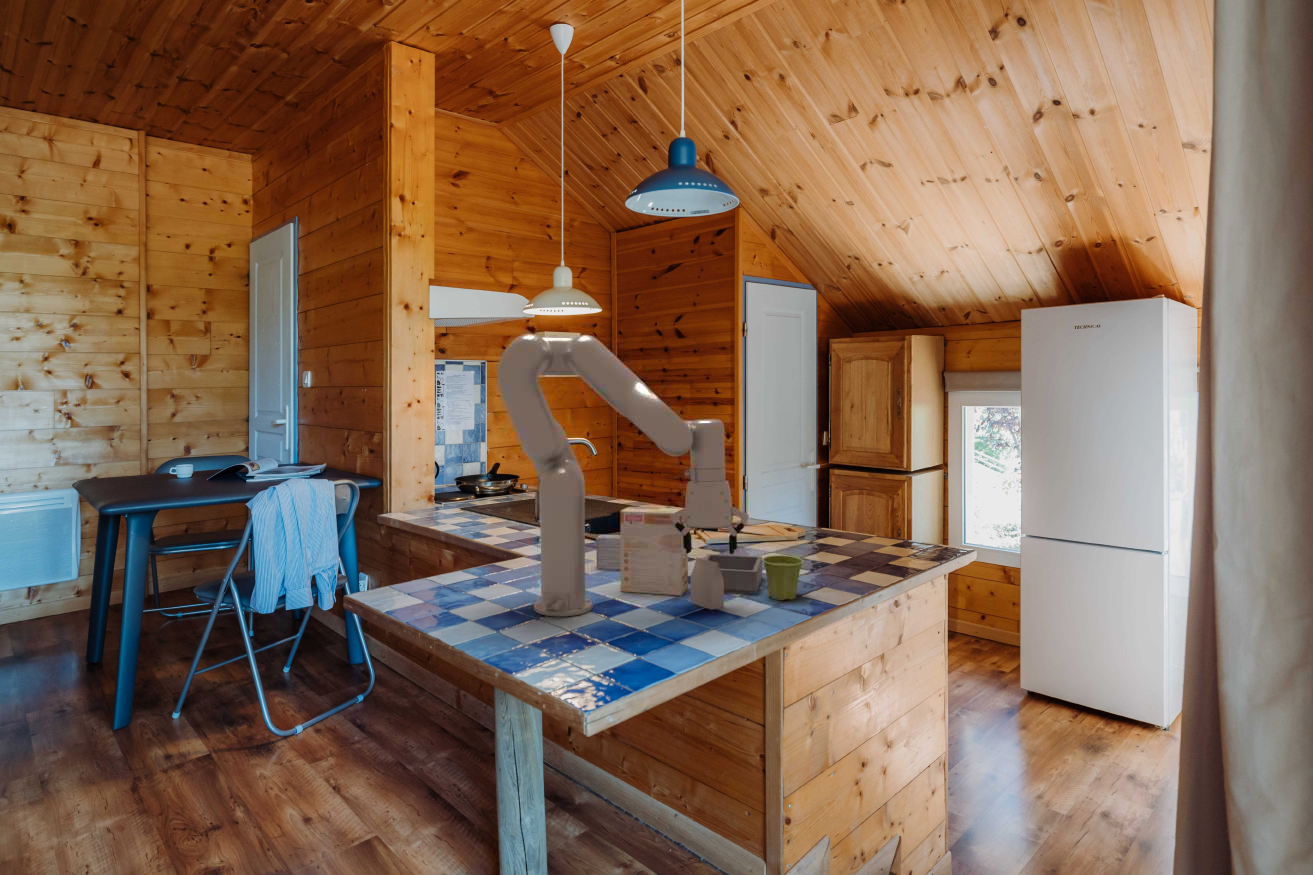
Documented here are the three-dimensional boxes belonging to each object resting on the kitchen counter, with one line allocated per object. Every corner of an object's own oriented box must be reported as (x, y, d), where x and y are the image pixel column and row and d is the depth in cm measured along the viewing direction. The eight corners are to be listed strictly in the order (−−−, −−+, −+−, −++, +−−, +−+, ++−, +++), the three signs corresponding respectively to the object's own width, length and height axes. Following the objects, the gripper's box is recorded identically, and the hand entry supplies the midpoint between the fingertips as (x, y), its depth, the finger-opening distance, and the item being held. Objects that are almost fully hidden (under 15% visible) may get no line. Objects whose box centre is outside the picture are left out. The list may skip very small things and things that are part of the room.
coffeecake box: (688, 588, 179) (688, 508, 178) (681, 596, 172) (681, 512, 171) (629, 584, 183) (628, 505, 182) (619, 592, 176) (619, 510, 175)
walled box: (756, 594, 173) (756, 571, 173) (696, 591, 176) (696, 568, 176) (762, 578, 189) (762, 556, 188) (707, 575, 192) (707, 553, 191)
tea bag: (711, 609, 162) (711, 564, 161) (690, 602, 167) (690, 558, 166) (723, 606, 164) (723, 561, 163) (702, 599, 169) (702, 556, 169)
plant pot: (808, 594, 173) (809, 558, 173) (794, 605, 165) (795, 566, 164) (771, 589, 178) (771, 553, 177) (755, 599, 170) (755, 561, 169)
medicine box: (628, 566, 201) (627, 534, 201) (625, 570, 197) (625, 538, 196) (599, 566, 202) (598, 534, 201) (596, 569, 198) (595, 537, 197)
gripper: (666, 477, 162) (668, 555, 163) (745, 477, 158) (747, 557, 159) (673, 473, 169) (675, 548, 170) (749, 473, 165) (751, 549, 167)
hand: (710, 552), depth 165 cm, fingers open, 9 cm apart
